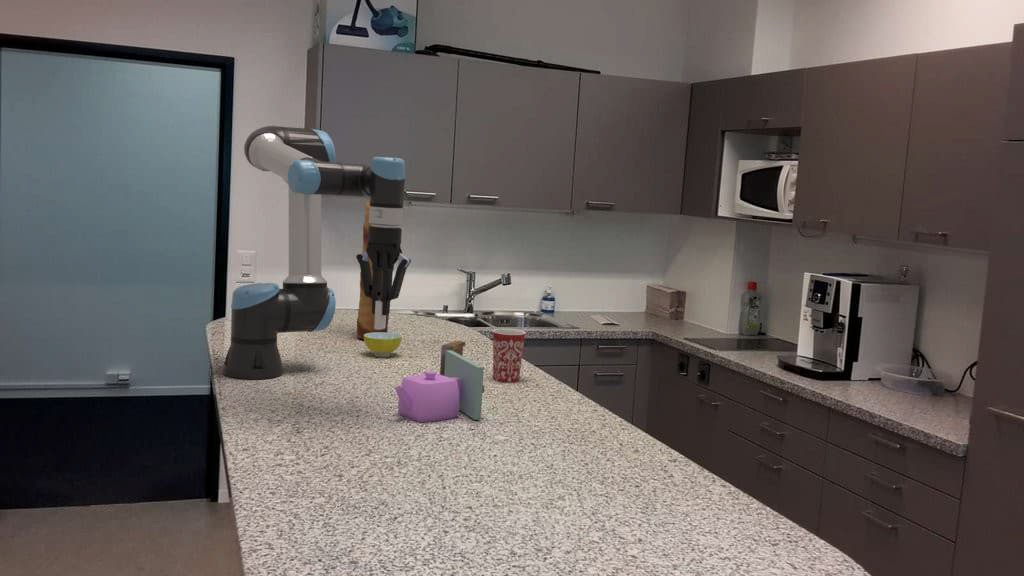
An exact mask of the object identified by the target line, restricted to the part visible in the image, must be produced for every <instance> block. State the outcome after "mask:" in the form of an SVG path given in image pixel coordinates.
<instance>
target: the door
mask: <svg viewBox="0 0 1024 576" xmlns="http://www.w3.org/2000/svg"><path fill="white" fill-rule="evenodd" d="M484 368H485V367H484V366H482V365H480V364H478V363H477V362H474V361H472V360H471V359H469V358H467V357H465V356H461V355H459V354H457V353H456V352H454V351H452V350H446V354H445V373H444V376H446V377H449V378H455V377H457V378H460V379H461V398H459V401H460V407H459V411H461V412H462V413H464V414H465V415H467V416H468V417H470V418H471V419H473V420H475V421H476V420H477V421H478V420H482V419H481V418H482V404H483V394H484V392H485V386H484Z"/></svg>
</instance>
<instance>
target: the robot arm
mask: <svg viewBox="0 0 1024 576" xmlns="http://www.w3.org/2000/svg"><path fill="white" fill-rule="evenodd" d="M244 142H245V143H244V148H243V151H244V156H245V158H246V160H247V163H249V164H250V165H251V166H253V168H255V169H257V170H259V171H261V172H272V173H273V174H275V175H277V176H279V177H281V179H282V181H284V182H285V183H286V184H287V186H288V275H287V276H286V278H285V279H283V281H282V288H280V286H279V285H278V284H277V283H276V282H275V283H274V282H265V283H263V282H258V283H257V282H256V283H250V284H246V285H241V286H238V287H237V288H235V289H234V290H233V292H232V298H231V305H230V308H231V319H230V322H231V324H230V346H229V348H228V351H227V353H226V357H225V358H224V361H223V365H222V374H223V375H224V376H226V377H230V378H234V379H242V380H243V379H244V380H262V379H264V380H265V379H273V378H276V377H280V376H282V375H283V373H284V365H283V362H282V358H281V354H280V350H279V347H278V334H279V333H281V334H282V333H304V332H307V333H312V332H317V331H318V332H319V331H324V330H326V329H327V328H328V327H329V326H330V325H331V323H332V321H333V319H334V316H335V313H336V312H335V311H336V303H337V302H336V297H335V292H334V290H333V289H332V288H330V287H328V281H327V280H326V279H325V277H323V276H322V196H340V197H342V196H343V197H358V198H359V197H362V198H364V197H365V198H369V201H370V208H369V223H370V224H371V226H369V227H368V246H367V248H366V251H365V252H363V251H362V252H363V253H360V254H359V253H357V255H356V256H355V257H356V260H357V262H358V263H359V266H360V267H359V269H360V272H361V275H362V281H363V287H364V293H365V296H366V297H370V298H371V299H372V314H375V323H374V329H377V330H381V329H385V327H386V315H389V316H390V313H391V310H390V309H391V301H392V300H396V299H399V296H400V294H401V289H402V287H403V286H402V285H403V283H404V279H405V274H406V271H407V269H408V267H409V266H410V265H411V262H412V260H411V259H410V258H407V257H406V256H405V255H403V251H402V250H403V249H402V248H401V244H402V236H403V234H402V232H403V231H402V228H401V226H403V217H404V216H403V214H404V213H403V211H404V209H403V208H404V198H405V196H404V195H405V181H406V163H405V161H404V159H402V158H401V157H400V158H399V157H387V156H385V157H383V156H374V157H373V158H372V159H371V164H368V163H353V162H336V161H337V159H336V158H337V157H336V150H335V145H334V141H333V140H332V138H331V136H330V135H329V134H328V133H327V132H326V131H323V130H319V129H314V128H304V127H291V126H290V127H289V126H288V127H287V126H279V125H278V126H277V125H267V126H266V125H265V126H262V127H259V128H256V129H255V130H254V131H253V132H251V133H250V134H249V135H248V137H247V138H246V140H245V141H244ZM369 258H370V260H371V262H372V270H373V280H372V276H371V269H370V264H369V261H368V260H369ZM396 263H397V264H398V265H397V268H396V270H394V269H395V265H396ZM394 271H395V274H394ZM382 273H383V285H382ZM393 274H394V277H393ZM381 291H382V296H381ZM381 298H382V299H381Z"/></svg>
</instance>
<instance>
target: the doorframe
mask: <svg viewBox="0 0 1024 576" xmlns="http://www.w3.org/2000/svg"><path fill="white" fill-rule="evenodd" d="M464 347H466V341H463V340H461V341H460V340H454V341H450V342H447V343H445V344H443V345H441V348H440V351H441V352H440V365H439V366H440V367H439V368H440V370H439V375H443V376H444V373H445V354H446V350H452V351H454V352H456V353H457V354H459V355H461V356H463V353H464ZM463 357H464V356H463Z"/></svg>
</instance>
